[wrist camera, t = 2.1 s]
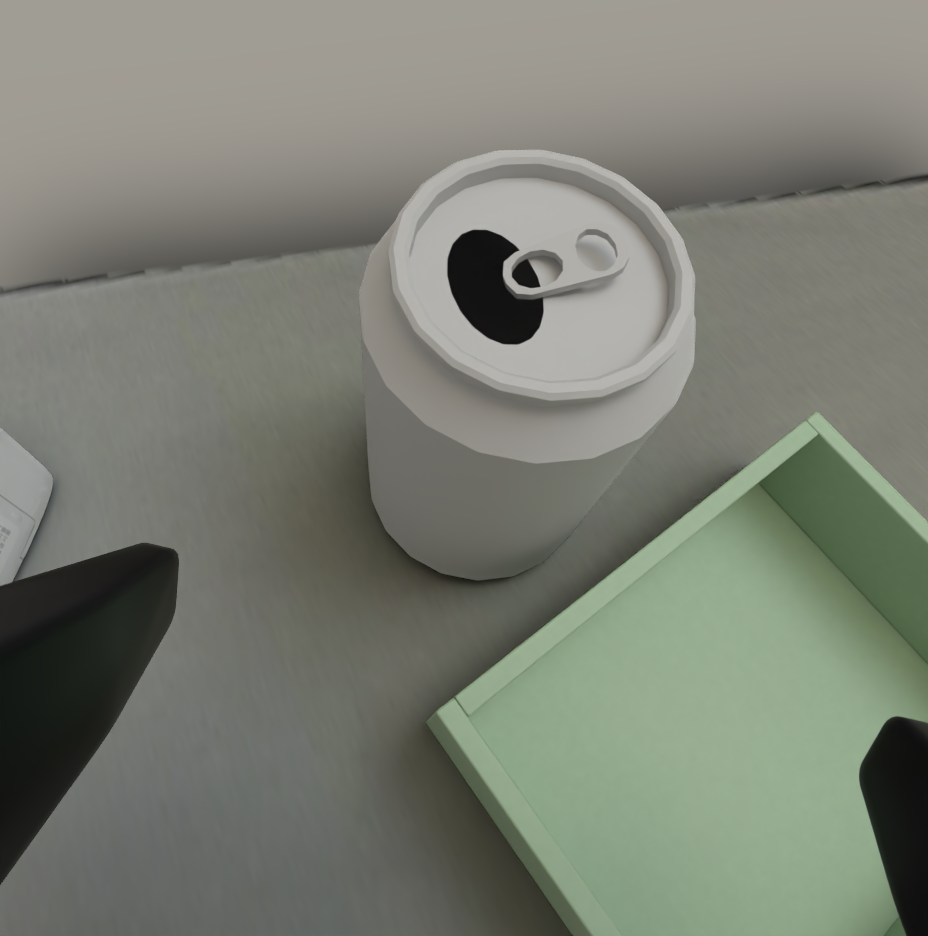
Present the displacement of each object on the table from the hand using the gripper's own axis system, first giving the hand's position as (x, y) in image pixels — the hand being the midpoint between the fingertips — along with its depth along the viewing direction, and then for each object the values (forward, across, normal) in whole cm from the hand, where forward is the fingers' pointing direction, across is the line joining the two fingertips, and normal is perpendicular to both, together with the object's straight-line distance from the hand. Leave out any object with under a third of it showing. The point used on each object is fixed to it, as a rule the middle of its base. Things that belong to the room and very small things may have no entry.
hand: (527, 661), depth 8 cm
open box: (+10, -9, +9) cm, 17 cm away
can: (+16, +1, +4) cm, 16 cm away
